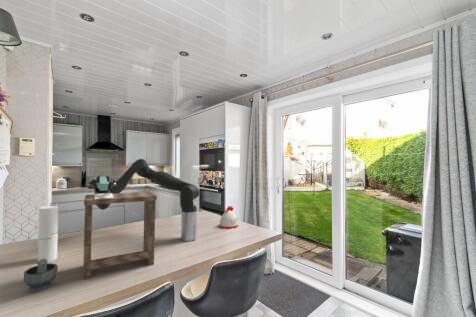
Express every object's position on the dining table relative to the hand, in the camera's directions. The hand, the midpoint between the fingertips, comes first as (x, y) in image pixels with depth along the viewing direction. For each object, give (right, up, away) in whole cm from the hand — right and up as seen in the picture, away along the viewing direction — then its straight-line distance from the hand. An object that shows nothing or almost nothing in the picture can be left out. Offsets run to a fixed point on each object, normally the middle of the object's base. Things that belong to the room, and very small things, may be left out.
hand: (103, 177), depth 116 cm
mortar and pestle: (-5, -39, -31) cm, 50 cm away
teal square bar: (+3, -4, -6) cm, 8 cm away
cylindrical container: (-23, -39, -7) cm, 46 cm away
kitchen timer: (+62, -41, +54) cm, 92 cm away
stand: (+14, -39, -11) cm, 44 cm away
